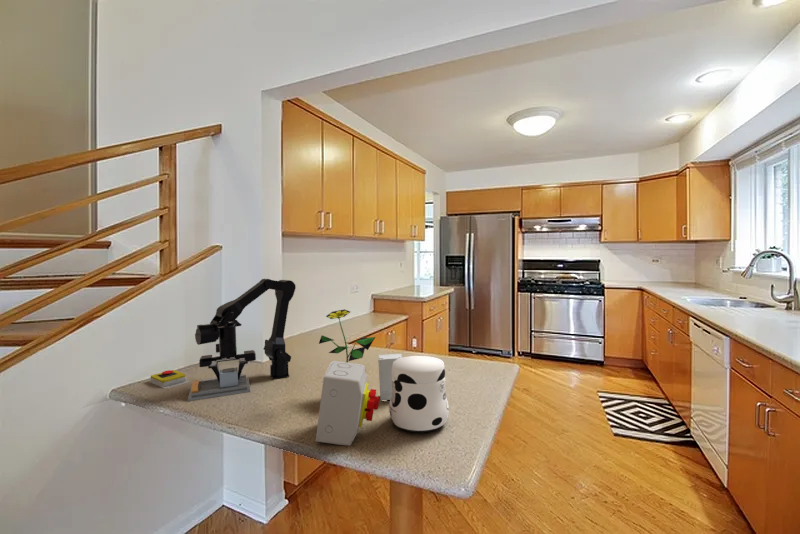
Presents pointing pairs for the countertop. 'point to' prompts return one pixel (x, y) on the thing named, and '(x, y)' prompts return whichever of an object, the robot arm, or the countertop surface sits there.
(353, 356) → the potted plant
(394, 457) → the countertop surface
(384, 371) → the skincare box
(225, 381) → the block
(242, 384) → the rail plate
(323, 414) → the electrical switch box
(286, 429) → the countertop surface
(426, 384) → the cow print canister
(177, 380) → the emergency button
